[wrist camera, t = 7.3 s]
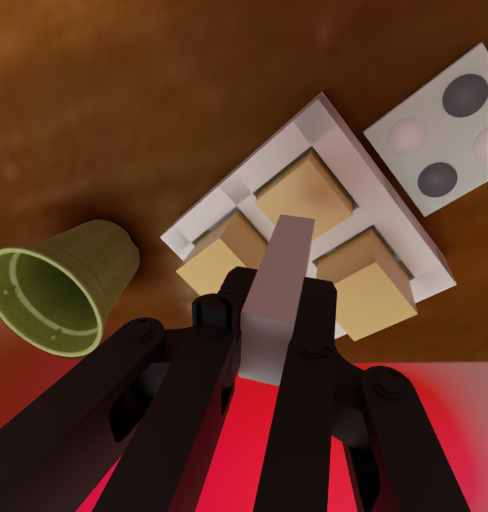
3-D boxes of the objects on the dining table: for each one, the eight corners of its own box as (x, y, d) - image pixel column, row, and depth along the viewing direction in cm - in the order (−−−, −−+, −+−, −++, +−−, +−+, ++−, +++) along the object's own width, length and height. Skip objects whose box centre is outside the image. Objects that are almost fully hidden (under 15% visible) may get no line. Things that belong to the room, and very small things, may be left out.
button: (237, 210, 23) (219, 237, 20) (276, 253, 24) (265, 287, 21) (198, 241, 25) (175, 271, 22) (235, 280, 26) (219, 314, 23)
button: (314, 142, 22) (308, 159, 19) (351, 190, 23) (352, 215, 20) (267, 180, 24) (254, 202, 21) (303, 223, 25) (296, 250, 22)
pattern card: (479, 42, 19) (483, 42, 18) (541, 147, 20) (546, 149, 20) (362, 131, 22) (363, 133, 22) (423, 214, 24) (424, 217, 23)
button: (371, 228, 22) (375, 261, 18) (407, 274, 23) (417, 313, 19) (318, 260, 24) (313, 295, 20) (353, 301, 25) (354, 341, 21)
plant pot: (64, 270, 35) (-9, 329, 28) (61, 184, 30) (-29, 229, 23) (151, 304, 35) (99, 373, 27) (164, 222, 29) (104, 280, 22)
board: (322, 91, 22) (317, 99, 19) (443, 255, 25) (456, 284, 22) (179, 217, 29) (159, 237, 26) (289, 332, 32) (282, 362, 29)
